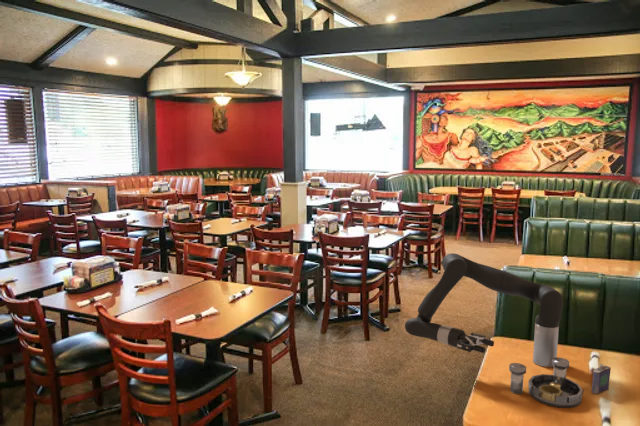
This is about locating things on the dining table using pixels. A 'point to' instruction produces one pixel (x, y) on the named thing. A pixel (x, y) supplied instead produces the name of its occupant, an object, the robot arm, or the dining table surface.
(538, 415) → the dining table surface
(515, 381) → the silver capped cylinder
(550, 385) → the carrier
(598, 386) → the flask
